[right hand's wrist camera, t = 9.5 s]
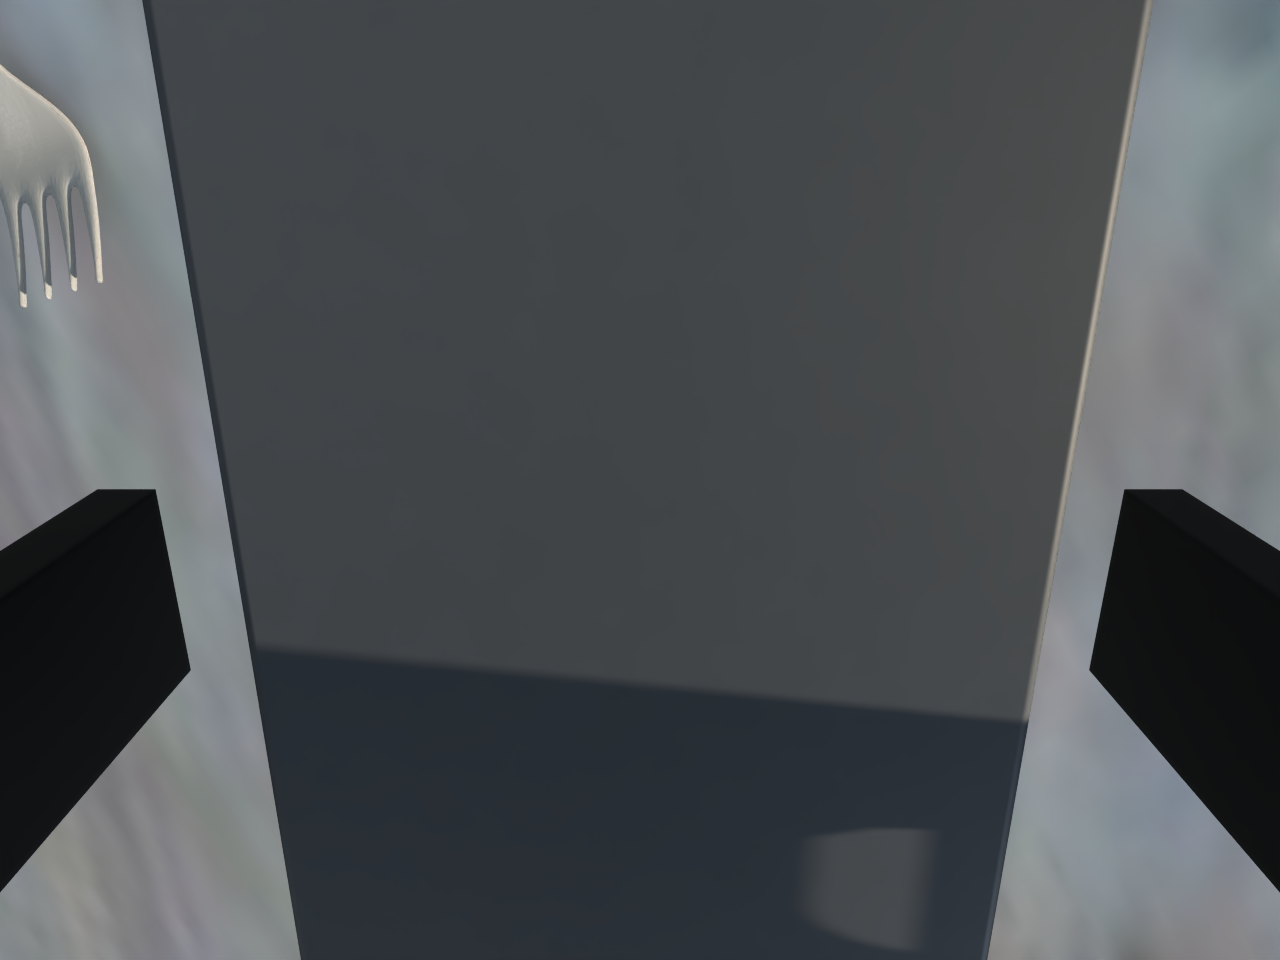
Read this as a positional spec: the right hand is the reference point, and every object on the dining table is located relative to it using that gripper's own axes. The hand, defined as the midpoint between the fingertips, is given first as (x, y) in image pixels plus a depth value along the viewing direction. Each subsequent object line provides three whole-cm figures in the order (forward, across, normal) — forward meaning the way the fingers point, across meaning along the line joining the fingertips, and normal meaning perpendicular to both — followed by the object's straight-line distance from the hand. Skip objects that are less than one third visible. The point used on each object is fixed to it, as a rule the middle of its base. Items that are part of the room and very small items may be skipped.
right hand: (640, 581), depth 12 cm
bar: (+3, 0, -9) cm, 9 cm away
